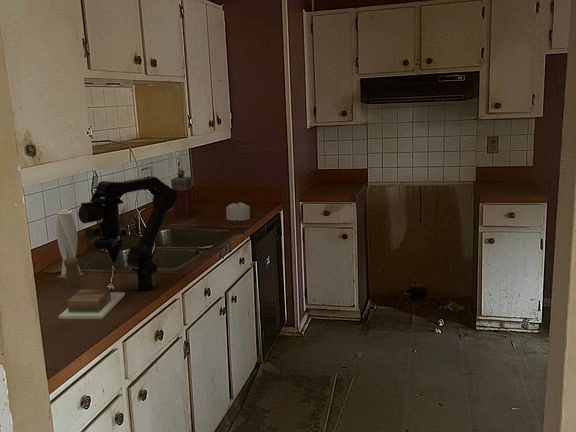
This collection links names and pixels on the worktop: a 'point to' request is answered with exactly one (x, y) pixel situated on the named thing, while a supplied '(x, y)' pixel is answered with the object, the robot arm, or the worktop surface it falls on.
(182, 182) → the square decanter
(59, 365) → the worktop surface
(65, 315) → the board
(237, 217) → the lumpy-topped squat cylinder
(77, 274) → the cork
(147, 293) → the worktop surface
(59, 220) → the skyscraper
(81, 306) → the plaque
